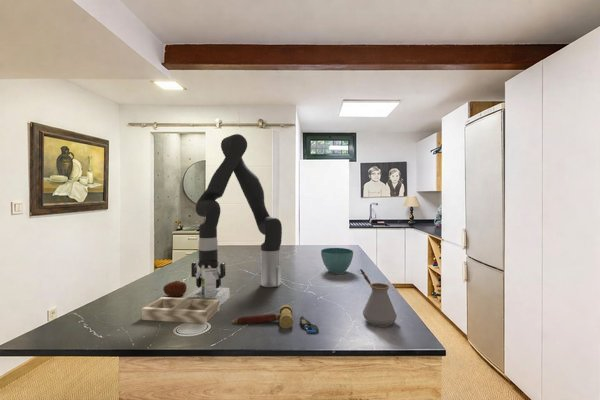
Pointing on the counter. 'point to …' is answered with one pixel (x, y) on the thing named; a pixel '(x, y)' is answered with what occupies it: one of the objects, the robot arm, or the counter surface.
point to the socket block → (220, 295)
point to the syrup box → (208, 282)
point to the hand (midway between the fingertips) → (208, 287)
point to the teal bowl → (337, 259)
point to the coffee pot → (379, 305)
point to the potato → (175, 288)
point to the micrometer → (308, 325)
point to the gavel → (270, 318)
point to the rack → (181, 310)
